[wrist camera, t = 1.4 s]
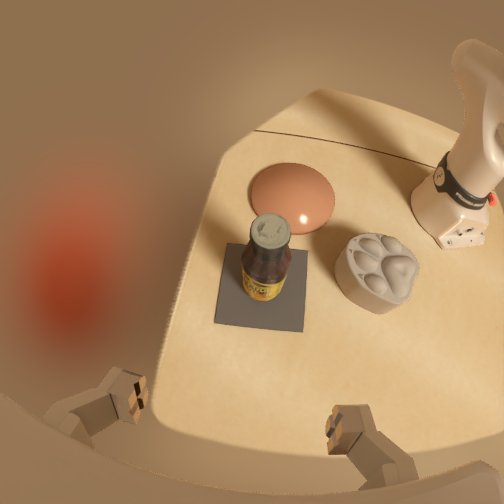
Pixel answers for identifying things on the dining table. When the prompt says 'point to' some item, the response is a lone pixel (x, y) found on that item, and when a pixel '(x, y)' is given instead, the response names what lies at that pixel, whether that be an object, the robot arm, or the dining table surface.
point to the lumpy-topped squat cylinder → (376, 272)
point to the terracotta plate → (294, 196)
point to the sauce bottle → (266, 257)
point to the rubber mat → (266, 312)
